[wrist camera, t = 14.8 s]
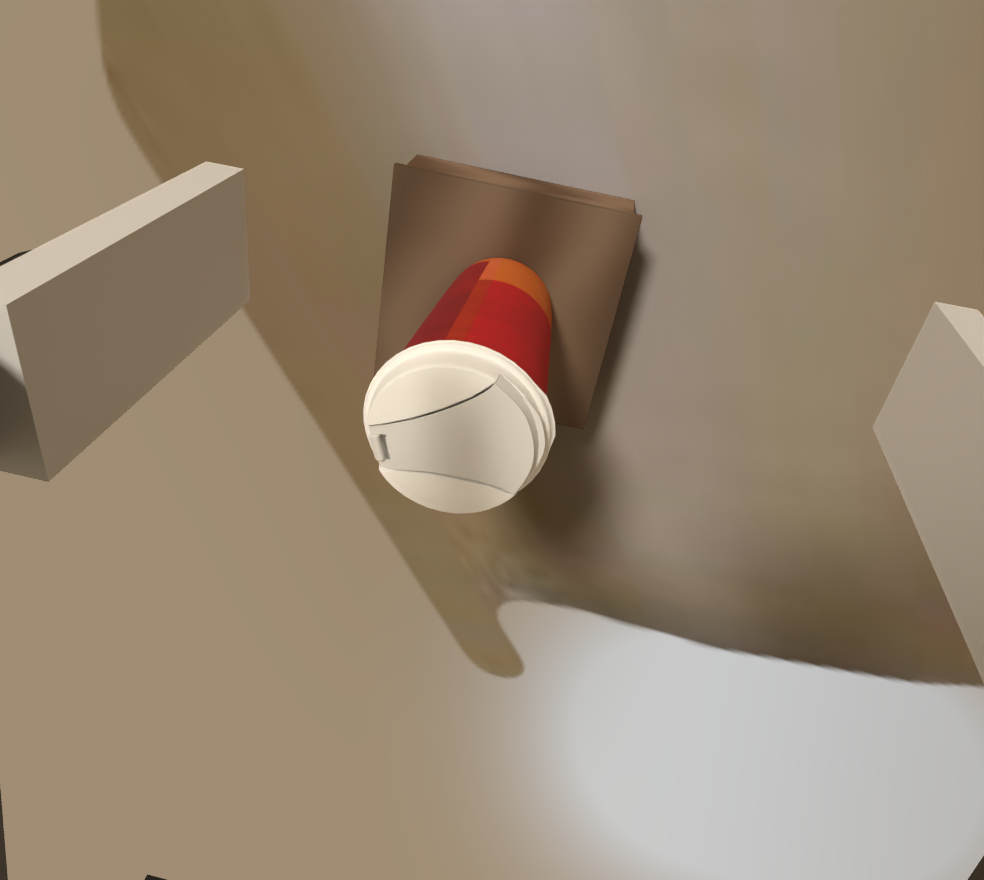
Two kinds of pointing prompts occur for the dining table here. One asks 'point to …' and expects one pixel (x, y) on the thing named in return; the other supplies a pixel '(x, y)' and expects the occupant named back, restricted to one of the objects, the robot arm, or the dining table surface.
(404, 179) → the podium
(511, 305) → the paper cup
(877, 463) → the dining table surface
